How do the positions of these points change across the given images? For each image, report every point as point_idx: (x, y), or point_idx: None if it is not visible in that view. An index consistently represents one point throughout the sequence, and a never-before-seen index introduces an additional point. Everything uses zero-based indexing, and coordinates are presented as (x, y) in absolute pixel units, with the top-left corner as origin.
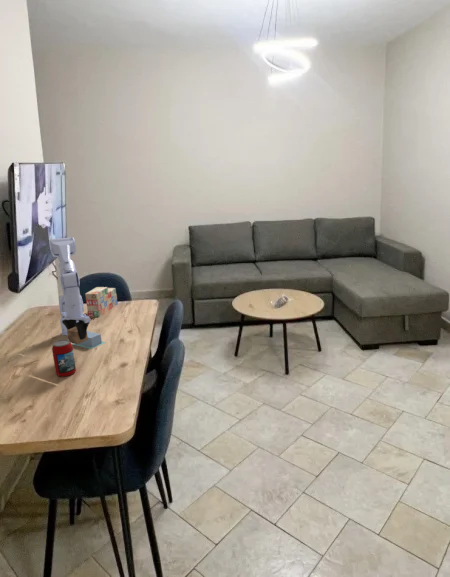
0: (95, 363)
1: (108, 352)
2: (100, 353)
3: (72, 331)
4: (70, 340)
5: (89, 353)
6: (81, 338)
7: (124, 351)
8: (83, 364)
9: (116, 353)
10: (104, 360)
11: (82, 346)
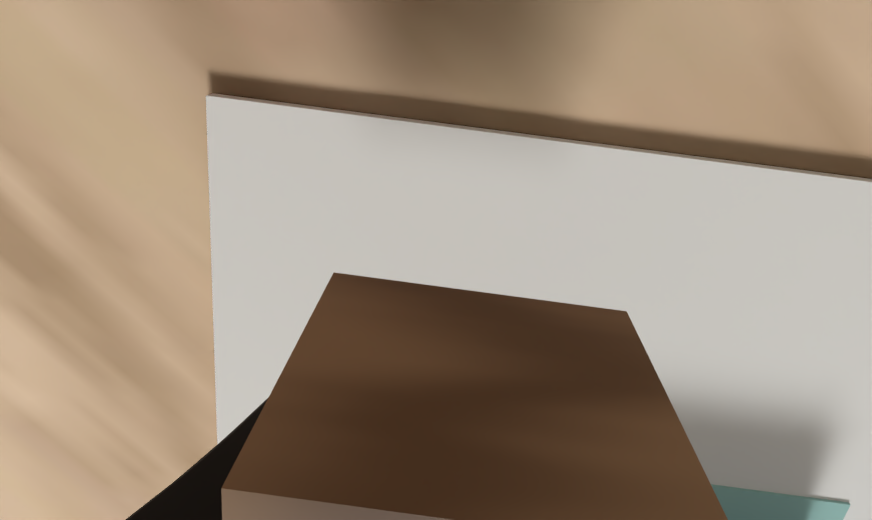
0: (86, 153)
1: None
2: None
3: (415, 507)
4: (571, 329)
5: None
6: (252, 412)
7: (79, 509)
8: (210, 66)
9: (112, 452)
10: (64, 264)
11: None
